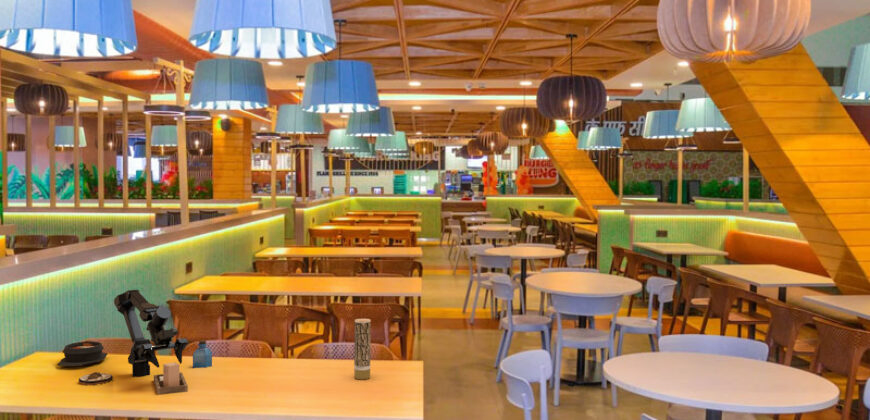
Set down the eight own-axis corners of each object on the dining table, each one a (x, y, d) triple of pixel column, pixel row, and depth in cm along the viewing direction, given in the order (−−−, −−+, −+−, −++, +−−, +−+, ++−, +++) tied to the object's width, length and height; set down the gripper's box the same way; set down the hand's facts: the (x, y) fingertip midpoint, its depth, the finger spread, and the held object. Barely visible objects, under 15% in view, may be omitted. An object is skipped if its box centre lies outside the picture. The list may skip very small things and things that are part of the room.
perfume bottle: (211, 366, 320) (212, 339, 320) (206, 369, 314) (206, 342, 313) (198, 365, 321) (198, 339, 320) (192, 369, 314) (192, 342, 314)
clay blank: (163, 389, 280) (163, 364, 280) (174, 387, 284) (174, 362, 283) (168, 391, 277) (168, 366, 277) (179, 389, 281) (179, 364, 280)
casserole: (80, 355, 336) (80, 338, 335) (117, 357, 334) (117, 339, 333) (46, 369, 311) (46, 350, 310) (86, 371, 309) (86, 352, 309)
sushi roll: (96, 389, 284) (96, 378, 284) (67, 385, 289) (67, 375, 288) (123, 379, 298) (123, 369, 298) (95, 376, 303) (95, 366, 302)
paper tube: (367, 380, 299) (368, 321, 298) (352, 379, 301) (352, 321, 300) (372, 376, 306) (372, 319, 305) (357, 375, 307) (357, 318, 306)
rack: (187, 393, 278) (187, 385, 278) (157, 396, 273) (157, 388, 273) (181, 379, 297) (181, 372, 297) (153, 382, 292) (153, 375, 292)
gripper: (141, 324, 277) (153, 357, 270) (186, 318, 291) (199, 349, 283) (132, 340, 283) (144, 373, 276) (177, 334, 297) (189, 365, 289)
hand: (170, 365), depth 281 cm, fingers open, 9 cm apart
